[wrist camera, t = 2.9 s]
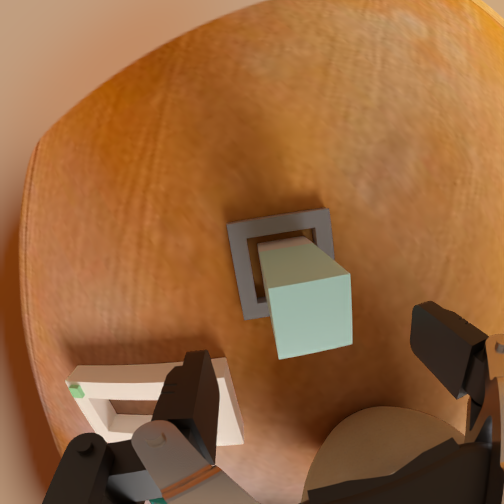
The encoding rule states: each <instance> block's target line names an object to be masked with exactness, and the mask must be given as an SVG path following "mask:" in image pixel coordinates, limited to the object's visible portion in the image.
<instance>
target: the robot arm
mask: <svg viewBox="0 0 504 504" xmlns="http://www.w3.org/2000/svg"><path fill="white" fill-rule="evenodd" d="M410 345H411V348H412V351H413V353H414V354H415V355H416V356H417V357H418V358H419V359H420V360H421V361H422V362H423V363H424V364H425V366H426V367H427V368H428V369H429V370H430V371H431V372H432V373H433V374H434V375H435V376H436V377H437V378H438V380H439V381H440V382H441V383H442V384H443V385H444V386H445V387H446V388H447V389H448V391H449V392H450V393H451V394H452V395H453V396H454V397H455V398H456V399H459V398H461V397H463V396H464V395H466V394H469V395H470V397H469V399H468V403H467V419H466V432H465V440H464V443H463V444H459V445H458V444H457V443H456V441H455V440H454V438H453V437H452V438H450V439H448V440H446V441H444V442H442V443H441V444H439V445H437V446H435V447H433V448H431V449H429V450H427V451H424V452H422V453H421V454H420V455H419V456H417V457H416V458H415V459H413V460H412V461H410V462H409V463H408V464H406V465H405V466H403V467H402V468H401V469H399V470H398V471H396V472H395V473H393V474H391V475H387V476H381V477H374V478H366V479H358V480H348V481H344V482H341V483H337V484H333V485H329V486H325V487H321V488H316V489H312V490H307V494H308V500H306V501H304V502H301V503H299V504H504V334H495V335H492V336H490V337H489V336H488V335H486V334H485V333H483V332H482V331H481V330H479V329H478V328H476V327H475V326H473V325H472V324H471V323H468V321H466V320H465V319H462V317H460V316H459V315H457V314H456V313H454V312H452V311H449V310H446V309H443V308H442V307H440V306H439V305H437V304H436V303H435V302H433V301H428V302H424V303H421V304H418V305H415V306H414V308H413V311H412V323H411V335H410ZM163 385H164V386H163V387H162V390H161V394H160V396H159V399H158V401H157V404H156V407H155V410H154V413H153V416H152V419H151V422H147V423H145V424H143V425H141V426H140V427H139V428H137V429H136V431H135V432H134V433H133V435H132V439H129V440H125V441H119V442H114V443H108V444H107V442H106V441H105V440H104V438H103V437H102V436H101V435H99V434H96V433H84V434H81V435H78V436H77V437H75V438H74V439H73V440H71V442H70V443H69V444H68V446H67V448H66V450H65V452H64V454H63V457H62V459H61V461H60V463H59V466H58V468H57V470H56V472H55V474H54V477H53V479H52V481H51V484H50V486H49V488H48V491H47V493H46V496H45V498H44V500H43V503H42V504H144V503H145V500H151V499H156V498H162V497H163V498H164V500H165V501H166V503H167V504H260V503H259V502H258V501H256V500H255V499H254V498H253V497H252V496H250V495H249V494H248V493H247V492H246V491H245V490H243V489H242V488H241V487H240V486H239V485H238V484H237V483H236V482H234V481H233V480H232V479H231V478H230V477H229V476H228V475H227V474H226V473H225V472H224V471H223V470H221V469H220V468H219V467H218V466H211V465H215V456H216V442H217V428H218V415H219V402H220V392H219V385H218V381H217V378H216V375H215V372H214V368H213V365H212V362H211V358H210V355H209V352H208V350H199V351H190V352H187V353H186V355H185V359H184V362H183V365H182V366H175V367H174V368H173V369H172V370H171V371H170V372H169V373H168V374H167V376H166V379H165V381H164V384H163Z"/></svg>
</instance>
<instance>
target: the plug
mask: <svg viewBox="0 0 504 504" xmlns="http://www.w3.org/2000/svg"><path fill="white" fill-rule="evenodd" d="M257 247H258V253H259V259H260V266H261V272H262V278H263V284H264V290H265V295H266V300H267V304H268V309H269V314H270V319H271V324H272V329H273V333H274V338H275V343H276V348H277V353H278V358H279V359H285V358H290V357H296V356H301V355H306V354H311V353H316V352H320V351H325V350H330V349H334V348H338V347H342V346H347V345H351V344H352V298H351V278H350V273H349V272H348V271H346V270H345V269H344V268H343V267H342V266H340V265H339V264H338V263H337V262H336V261H334V260H333V259H332V258H331V257H330V256H328V255H327V254H326V253H325V252H323V251H322V250H321V249H320V248H318V247H317V246H316V245H315V244H314V243H312V242H311V241H310V240H309V239H307V238H306V237H305V236H299V237H292V238H286V239H280V240H274V241H268V242H262V243H257Z"/></svg>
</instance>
